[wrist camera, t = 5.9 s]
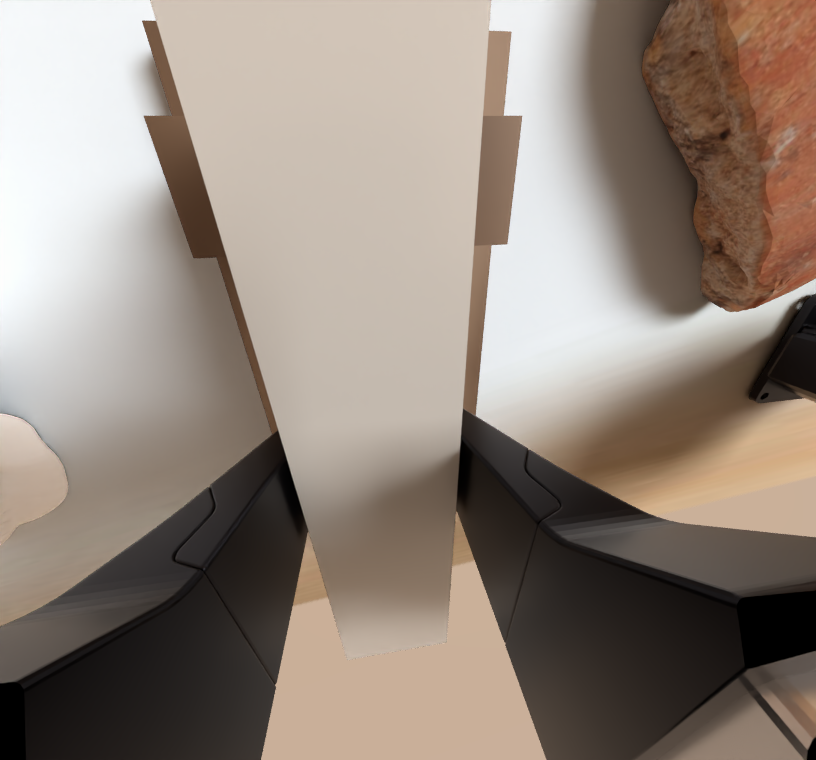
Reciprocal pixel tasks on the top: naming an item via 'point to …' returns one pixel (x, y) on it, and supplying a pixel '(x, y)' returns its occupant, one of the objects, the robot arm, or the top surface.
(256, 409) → the top surface
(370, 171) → the clay strip
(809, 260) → the ceramic shard
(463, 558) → the top surface
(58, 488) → the skull bowl
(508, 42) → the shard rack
